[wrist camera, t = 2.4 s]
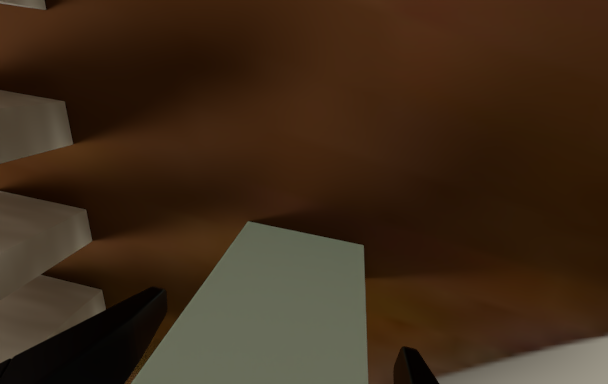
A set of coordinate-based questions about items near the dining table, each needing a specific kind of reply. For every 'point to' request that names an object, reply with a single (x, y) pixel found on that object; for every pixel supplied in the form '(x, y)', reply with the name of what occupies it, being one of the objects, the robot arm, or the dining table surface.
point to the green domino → (271, 316)
